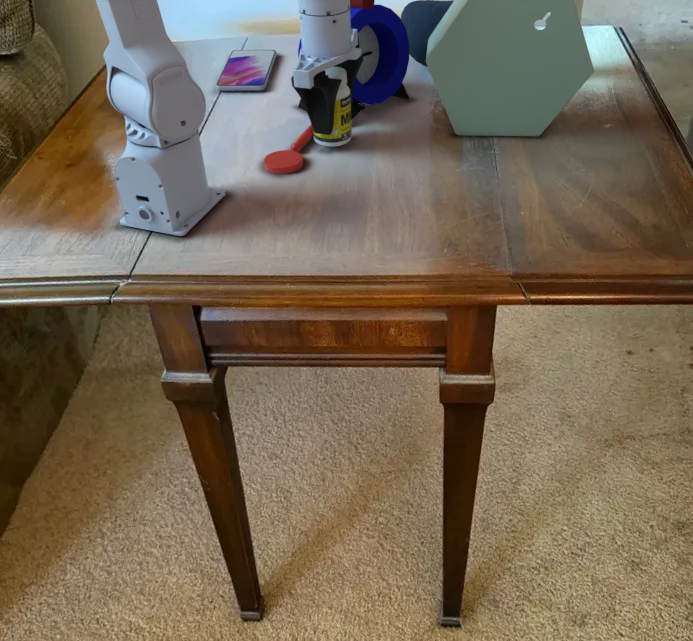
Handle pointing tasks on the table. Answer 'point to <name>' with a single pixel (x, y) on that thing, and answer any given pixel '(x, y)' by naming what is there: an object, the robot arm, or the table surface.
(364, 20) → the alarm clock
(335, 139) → the supplement bottle
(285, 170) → the red rod and disc
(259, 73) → the smartphone
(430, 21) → the decorative stone
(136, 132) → the robot arm
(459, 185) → the table surface
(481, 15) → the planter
